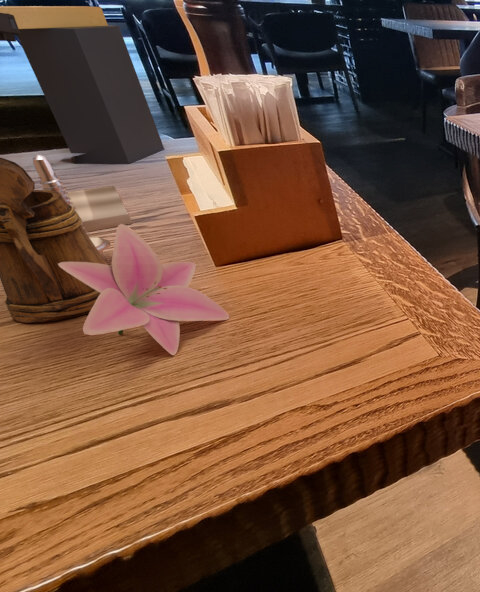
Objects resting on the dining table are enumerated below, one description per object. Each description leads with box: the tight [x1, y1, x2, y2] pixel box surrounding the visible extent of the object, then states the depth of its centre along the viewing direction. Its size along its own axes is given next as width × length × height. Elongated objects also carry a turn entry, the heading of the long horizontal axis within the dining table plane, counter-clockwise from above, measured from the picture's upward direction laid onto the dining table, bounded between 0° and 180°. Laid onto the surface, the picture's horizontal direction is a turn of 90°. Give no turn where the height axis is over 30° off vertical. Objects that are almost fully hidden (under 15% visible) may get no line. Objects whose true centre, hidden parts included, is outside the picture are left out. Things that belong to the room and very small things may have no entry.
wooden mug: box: [0, 157, 109, 324], centre depth 49 cm, size 9×14×18 cm, turn 35°
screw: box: [32, 154, 111, 261], centre depth 59 cm, size 13×5×5 cm
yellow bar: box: [0, 5, 109, 29], centre depth 85 cm, size 19×3×3 cm, turn 173°
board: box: [66, 185, 133, 233], centre depth 75 cm, size 16×8×2 cm, turn 44°
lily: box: [58, 224, 230, 356], centre depth 48 cm, size 12×12×10 cm
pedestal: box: [16, 25, 165, 165], centre depth 96 cm, size 11×9×22 cm
